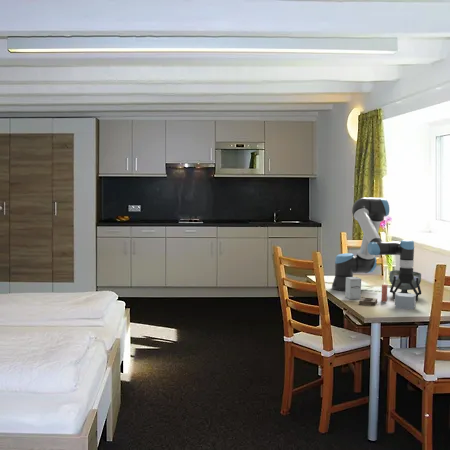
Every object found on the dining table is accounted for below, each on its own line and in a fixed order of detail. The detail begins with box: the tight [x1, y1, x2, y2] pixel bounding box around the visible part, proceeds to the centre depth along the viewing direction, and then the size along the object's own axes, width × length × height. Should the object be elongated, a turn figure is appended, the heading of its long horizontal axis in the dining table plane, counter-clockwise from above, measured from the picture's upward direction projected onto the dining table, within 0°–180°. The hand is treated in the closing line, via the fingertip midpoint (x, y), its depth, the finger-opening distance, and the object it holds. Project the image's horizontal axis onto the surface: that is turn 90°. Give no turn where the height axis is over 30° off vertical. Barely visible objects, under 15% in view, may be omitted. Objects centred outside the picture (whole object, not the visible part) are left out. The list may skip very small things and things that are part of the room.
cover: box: [394, 292, 416, 310], centre depth 361 cm, size 10×10×7 cm
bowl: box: [388, 269, 422, 294], centre depth 393 cm, size 20×19×15 cm
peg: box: [381, 284, 388, 303], centre depth 376 cm, size 3×3×10 cm
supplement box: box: [344, 276, 362, 300], centre depth 385 cm, size 7×7×13 cm
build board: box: [358, 296, 378, 307], centre depth 370 cm, size 11×9×2 cm
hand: (405, 305), depth 361 cm, fingers closed on cover, 10 cm apart
